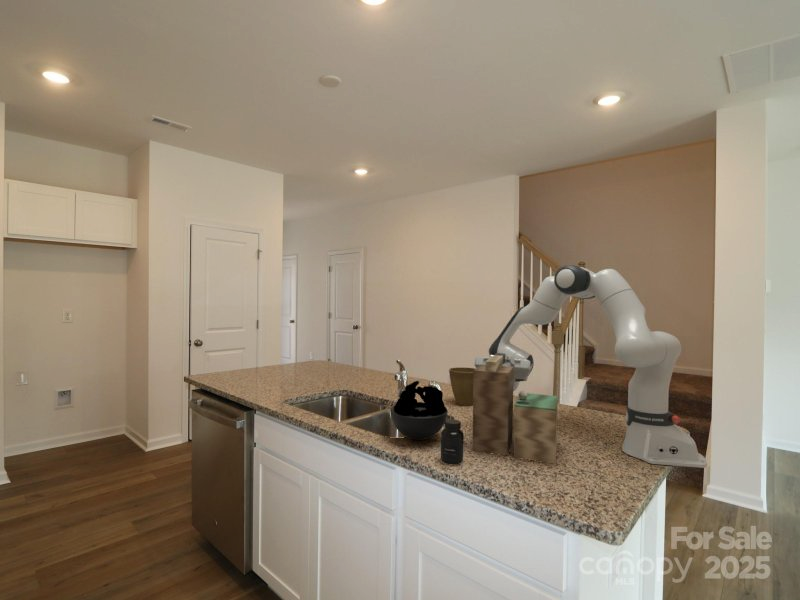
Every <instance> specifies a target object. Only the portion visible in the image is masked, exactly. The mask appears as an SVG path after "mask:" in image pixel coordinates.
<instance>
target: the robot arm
mask: <svg viewBox="0 0 800 600" xmlns="http://www.w3.org/2000/svg"><path fill="white" fill-rule="evenodd" d="M570 297H571V298H572V297H573V298H574V299H575V298H577V299H583V300H590V299H595V298H596V300H597V301H598V303H599V304H600V306H601V308H602V309H603V312H604V313H605V315H606V316H607V318H608V320H609V322H610V324H611V326H612V328H613V331H614V335H615V341H616V343H615V345H614V354H615V357H616V358H617V359H618V361H619V362H620V363H621V364H623V365H625V366H628V367H632V368H635V371H634V373H633V375H632V377H631V378H630V380H629V382H628V388H627V389H628V390H627V392H628V393H627V394H628V395H627V398H628V399H627V402H628V403H627V404H628V405H627V406H626V411H625V423H626V431H625V436H624V440H623V444H622V447H621V451H623V452H624V453H625V454H627V455H629V456H631V457H633V458H637V459H639V460H642V461H644V462H646V463H648V464H653V465H666V466H676V467H687V468H700V469H701V468H702V469H704V468H706V467H707V466H708V461H707V459H706V457H705V456H704V455H703V454H701V453H699V451H698V448H697V443H696V442H695V440H694V439H693V438H692V436H691V435H689V434H688V433H687V432H685V430H683V429H682V428H681V427H680V426H678V425H677V424H679V423H681V419H680V417H679V416H677V415H675V414H674V413H672V412H671V411H669V397H670V395H669V392H670V391H669V390H670V383H671V380H672V375H673V372H674V368H675V365H676V361H677V360H678V358H679V356H681V353H682V345H681V342H680V340H679V338H678V337H676V336H674V335H673V334H671V333H669V332H665V331H661V330H655V331H651V329H650V328H649V326H648V324H647V320H646V314H647V310H646V308H645V306H644V305H643V303H642V302H641V300H640V298H639V297H638V295H637V294H636V293H635V291H634V290H633V288H632V287H631V285H630V284H629V283H628V282H627V280H626V279H625V278H624V277H623V276H622V275H621V274H620V273H619V272H618V271H617V270H616V269H614V268H605V269H602V270H599V271H598V272H595V271H592V270H590V269H588V268H586V267H582V266H578V265H574V264H568V265H564V266H562V267H560V268H559V269H557V271H556V272H555V274H554V275H550V276H547V277H545V278H544V279H543V280H542V282H541V283H540V285H539V286H538V288H537V290H536V291H535V293H534V295H533V298H532V299H531V301H530V302H529V303H528V304H527V305H526V306H521V307H520V308H518V309H517V310H516V311H515V312H514V314H513V315H512V316H511V318H510V319H509V320H508V322H507V324H506V325H505V326H504V327H503V330H502V331H501V332H500V333H499V335H498V336H497V338H496V339H495V340H494V341H493V342H492V343H491V345H490V347H489V348H488V355H489V356H476V357H475V358H474V367H475V369H476V368H477V367H479V366H480V365H485V361H487V360H488V359H489V358H491V357H492V356H493V355H495V354H496V353H503V354H505V363H504V364H503V365H502V366H510V367H514V372H513V392H516V390H517V389H518V387H519V385H520V382H527V381H528V377H529V376H530V374H531V373H532V370H533V368H534V357H533V355H532V354H531V353H529V352H527V351H525V350H524V349H522V348H519V347H518V346H516V345H515V344H513V343H512V342H511V339H512V338H513V337H514V336H515V333H516V332H517V331H518V329H519V328H520V327H521V326H522V325H524V324H530V325H537V326H538V325H539V326H544V325H548V324H551V323H552V322H554V321H555V320H556V318H557V316H558V315H559V313H560V311H561V310H562V307H563V305H564V303H565V301H566V300H567V299H568V298H570Z"/></svg>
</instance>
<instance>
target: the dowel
mask: <svg viewBox="0 0 800 600" xmlns="http://www.w3.org/2000/svg"><path fill="white" fill-rule="evenodd" d="M504 363H505V354H503V353H496V354H495V355H493V356H492V357H491V358H489V359H488V360H487V361H485V372H496V371H497V370H498V369H499V368H500V367H501V366H502V365H503V364H504Z"/></svg>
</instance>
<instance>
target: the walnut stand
mask: <svg viewBox="0 0 800 600" xmlns="http://www.w3.org/2000/svg"><path fill="white" fill-rule="evenodd" d="M513 372H514V367H510V366H501V367H500V368H499V369H498V370H497V371H496V372H485V365H480V366H479V367H477V368H476V367H475V370H473V404H472V449H471V451H472V452H475V451H478V452H477V453H482V452H485V453H484V454H489V453H493V454H492V455H495V454H500V455H499V456H502V455H508V456H509V454H510V451H511V448H512V446H513V444H514V391H513ZM511 445H512V446H511ZM509 450H510V451H509ZM508 453H509V454H508Z"/></svg>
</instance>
